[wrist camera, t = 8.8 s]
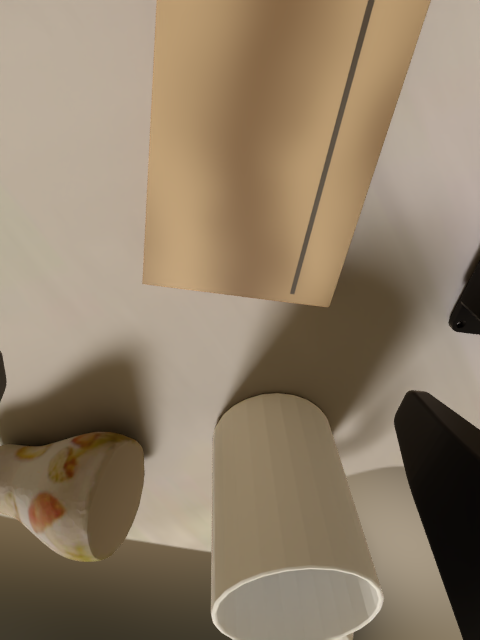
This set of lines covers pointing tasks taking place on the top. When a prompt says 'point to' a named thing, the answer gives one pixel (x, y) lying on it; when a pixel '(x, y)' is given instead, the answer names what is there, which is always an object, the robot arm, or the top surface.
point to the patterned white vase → (74, 491)
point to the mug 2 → (285, 528)
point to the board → (268, 139)
